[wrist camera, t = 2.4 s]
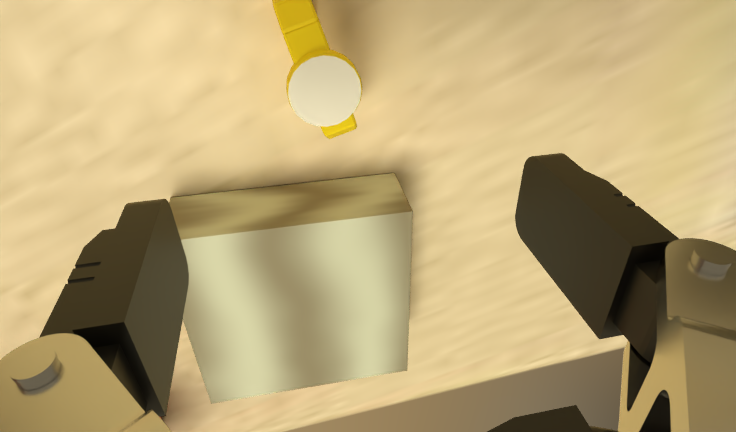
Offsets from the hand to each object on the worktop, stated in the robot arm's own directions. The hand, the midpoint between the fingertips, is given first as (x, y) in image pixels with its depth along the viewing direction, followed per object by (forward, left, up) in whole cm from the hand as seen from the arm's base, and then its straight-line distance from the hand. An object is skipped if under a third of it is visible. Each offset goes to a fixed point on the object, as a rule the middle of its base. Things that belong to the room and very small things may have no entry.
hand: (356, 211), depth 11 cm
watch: (0, 0, -14) cm, 14 cm away
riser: (+2, +13, -14) cm, 19 cm away
